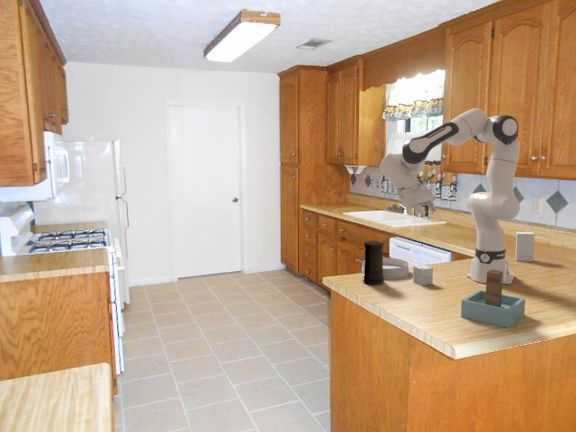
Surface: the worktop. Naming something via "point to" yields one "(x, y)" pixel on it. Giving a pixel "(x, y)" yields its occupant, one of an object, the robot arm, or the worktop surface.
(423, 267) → the skincare box
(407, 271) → the dish
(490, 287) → the peg
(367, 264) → the container
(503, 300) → the socket
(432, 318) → the worktop surface
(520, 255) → the skincare box
